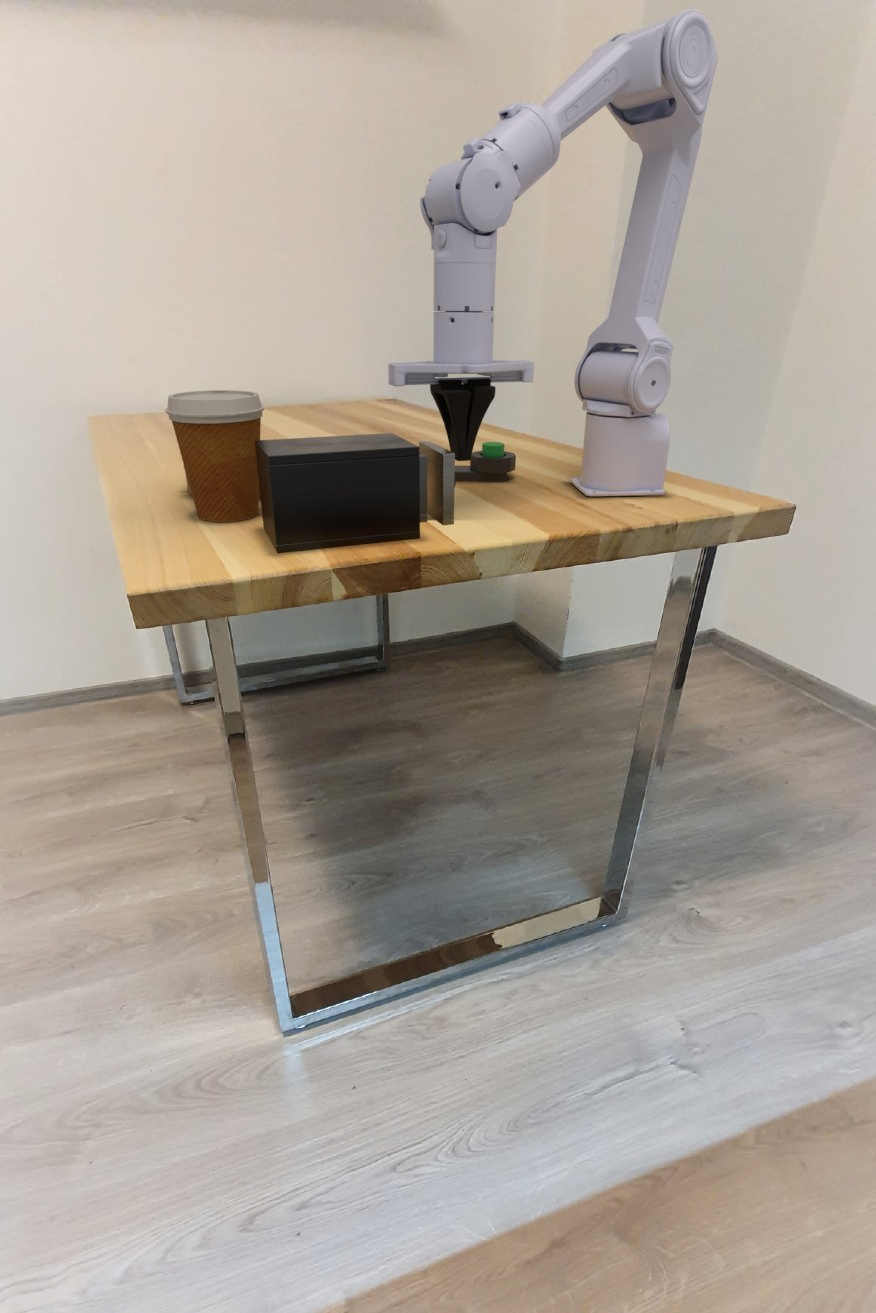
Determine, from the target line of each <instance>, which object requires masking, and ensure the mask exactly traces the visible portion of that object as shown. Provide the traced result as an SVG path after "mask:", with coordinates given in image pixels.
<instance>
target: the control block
mask: <svg viewBox="0 0 876 1313" xmlns="http://www.w3.org/2000/svg"><path fill="white" fill-rule="evenodd" d="M516 463H517V456H516V454H515V453H514V452H512V451H507V450H504V456H502V457H486V456H482V450H477V451H472V455H471V460H469V465H455V480H456V482H507V480H508V473H512V472H514V471H516Z"/></svg>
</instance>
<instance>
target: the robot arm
mask: <svg viewBox="0 0 876 1313" xmlns="http://www.w3.org/2000/svg"><path fill="white" fill-rule="evenodd" d="M718 60H719V53H718V49H717V47H716V43H715V40H714V37H713V33H712V29H711V27H710V24H709V21H708V19H707V17H706V16H705V15H704V13H702V12H701V11H700V10H699V9H697V8H686V9H684V10H681V11H679V13H677V14H676V15H674V16H670V17H668V18H665V19H662V20H660V21H657V22H653V23H651V24H648V25H645V26H643V27H641V28H638V29H635V30H633V31H630V32H629V31H628V32H627V33H625V32H624V33H619V34H616V35H613V36H612V37H611V38H610V39H608V40H607V42H606V43H603V44H601V45H600V46H597V47H596V48H595V49H593V50H592V54H591V55H590V56H588V58H586V59H585V60H584V62H582V64H580V66H579V67H578V68H576V70H575V71H573V72H572V73H571V74H570V76H568V78H566V79H565V80H564V81H563V83H561V84H560V85H559V87H557V88H556V89H555V90H554V91H553V92H552V93H551V94H550V95H549V96H548V97H547V98H546V99H545V100H544V101H543V102H542V103H541V104H538V103H535V102H531V101H524V102H522V103H519V102H518V101H514V102H512V103H509V104H506V105H505V106H504V107H503V108H501V109H500V110H499V111H498V116H499V119H500V121H499V122H497V123H496V124H495V125H494V126H492V128H490V129H489V130H488V131H487V132H486V133H484V134H483V135H482V136H481V137H480V138H478V137H474V138H471V139H469V140H468V141H467V142H465V144H463V147H462V149H463V153H462V154H461V157H460V159H459V160H455V161H452V162H447V163H444V164H441V165H439V166H438V167H437V168H436V169H435V170H434V171H433V172H432V173H431V174H430V176H429V178H428V184H426V187H425V193H424V195H423V196H422V197H420V198H419V205H420V211H421V215H422V218H423V220H424V223H425V225H426V226H427V228H428V229H429V233H430V238H431V240H430V242H431V245H430V246H431V250H433V350H432V351H433V354H432V355H433V356H432V357H433V360H430V361H429V360H428V361H427V360H426V361H409V362H389V363H388V364H387V366H388V371H387V372H388V385H389V386H393V387H405V386H423V385H429V391H430V394H431V396H432V398H433V400H434V402H435V405H436V407H437V409H438V412H439V414H440V417H441V419H442V421H443V425H444V428H445V432H446V436H447V441H448V445H449V451H451V452H453V453H455V461H457V462H470V460H471V455H472V453H473V452H474V451H473V450H474V446H475V443H476V439H477V436H478V433H479V430H480V427H481V425H482V422H483V420H484V418H485V415H486V414H487V412H488V409H489V408H490V406H491V404H492V403H493V401H494V399H495V397H496V389H497V388H496V386H495V385H492V383H533V382H534V373H535V361H532V360H521V359H519V360H504V359H503V360H497V359H496V360H495V359H493V355H494V334H495V333H494V331H495V330H494V328H495V303H496V302H495V301H496V300H495V299H496V276H497V275H496V273H497V249H498V248H497V247H498V246H497V244H498V230H499V228H501V227H504V226H506V224H507V223H508V221H509V219H510V216H511V215H512V211H513V207H514V203H515V201H517V200H518V199H519V198H520V197H521V196H522V195H524V193H526V192H527V191H528V190H529V189H530V188H531V187H533V185H534V184H536V183H537V182H538V181H539V180H540V179H541V178H543V176H545V175H546V174H547V173H548V172H549V171H550V170H551V169H552V168H553V167H554V166H555V165H556V163H557V162H558V160H559V157H560V152H561V141H563V140H564V139H565V138H567V137H568V136H569V135H571V134H572V133H573V132H574V131H575V130H577V129H578V128H579V127H580V126H581V125H583V124H584V123H585V122H587V121H588V120H589V119H591V118H592V117H593V116H594V115H595V114H597V113H599V111H601V109H603V108H604V107H606V109H607V111H609V113H610V114H611V115H612V117H613V118H614V120H615V121H616V122H617V123H618V125H619V126H620V127H621V129H622V130H623V131H624V133H625V134H626V135H627V137H628V138H629V139H630V141H631V142H634V143H635V144H638V146H639V149H640V152H641V154H642V157H641V161H640V162H641V163H640V167H639V172H638V175H637V176H638V177H637V181H636V186H635V190H634V194H633V200H632V204H631V209H630V213H629V217H628V218H629V219H628V223H627V228H626V232H625V233H626V234H625V237H624V242H623V245H622V246H623V247H622V251H621V257H620V260H619V265H618V270H617V275H616V280H615V284H614V289H613V293H612V298H611V303H610V308H609V313H608V316H607V317H606V319H605V320H604V321H602V323H601V324H600V325H598V327H596V328H595V330H593V331H592V332H591V333H590V334H589V336H588V338H587V343H586V347H585V351H584V353H583V355H582V356H581V358H580V359H579V361H578V364H577V365H576V369H575V373H574V378H573V379H574V380H573V381H574V384H573V385H574V391H575V393H576V395H577V398H578V399H579V400H580V401H581V403H582V407H581V410H582V411H586V413H585V414H586V415H585V423H584V424H585V425H584V435H583V446H582V455H581V456H582V457H581V468H580V477H571V478H570V479H569V483H571V485H573V486H574V487H575V488H577V489H578V490H579V491H580V492H581V493H582V494H584V496H586V497H625V496H628V497H631V496H665V495H666V490H664V484H665V477H666V471H667V464H668V456H669V450H670V441H671V428H670V427H671V426H670V421H669V419H668V417H667V416H666V415H665V414H664V413H659V412H657V411H656V410H657V409H658V408H659V407H660V406H661V405H662V403H663V402H664V400H665V399H666V397H667V395H668V392H669V390H670V386H671V381H672V380H671V379H672V378H671V377H672V376H671V375H672V373H671V360H672V353H673V350H674V344H673V342H672V340H671V339H670V338H669V337H668V336H667V334H666V333H665V332H664V330H663V329H662V328H661V327H660V326H659V320H660V316H661V311H662V307H663V302H664V299H665V294H666V291H667V290H666V289H667V285H668V282H669V278H670V273H671V268H672V264H673V261H674V256H675V252H676V247H677V243H678V239H679V235H680V231H681V226H682V223H683V218H684V215H685V214H684V213H685V210H686V206H687V201H688V197H689V192H690V188H691V184H692V180H693V175H694V171H695V167H696V163H697V158H698V154H699V150H700V145H701V140H702V132H703V124H704V120H705V116H706V111H707V108H708V104H709V98H710V94H711V90H712V86H713V82H714V78H715V73H716V69H717V65H718ZM628 349H629V350H637V351H627V350H628ZM449 375H478V376H469V377H468V376H467V377H464V376H463V377H449Z"/></svg>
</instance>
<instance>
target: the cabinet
mask: <svg viewBox="0 0 876 1313" xmlns="http://www.w3.org/2000/svg"><path fill="white" fill-rule="evenodd" d="M255 449H256V460H257V470H258V479H259V489H260V498H259V499H260V506H261V516H262V517H261V518H262V525H263V526H262V527H263V530H264V532H265V534H266V536H267V538H268V539H269V541H270V543H271V544H272V547H273V548H274V550H275V552H276V554H286V553H297V552H306V551H314V550H317V551H318V550H324V549H334V548H343V547H344V548H345V547H352V546H353V547H354V546H355V547H356V546H364V545H373V544H382V543H383V544H384V543H392V542H402V541H403V542H404V541H410V540H420V539H421V523H420V457H419V455H420V451H419V445H416V444H415V443H412V442H411V441H408V440H407V439H405V438H403V437H401V436H399V435H397V434H395V433H393V432H385V433H383V432H382V433H368V434H366V433H365V434H351V435H350V434H349V435H331V436H312V437H311V436H310V437H293V438H277V439H276V438H275V439H260V440H255Z"/></svg>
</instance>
